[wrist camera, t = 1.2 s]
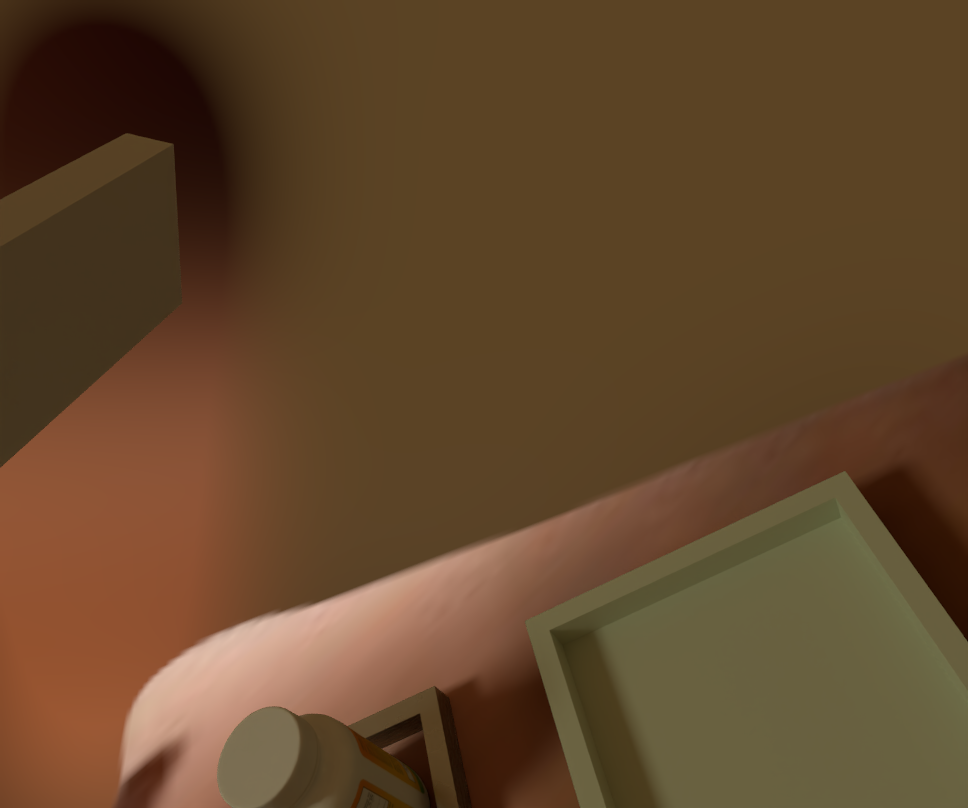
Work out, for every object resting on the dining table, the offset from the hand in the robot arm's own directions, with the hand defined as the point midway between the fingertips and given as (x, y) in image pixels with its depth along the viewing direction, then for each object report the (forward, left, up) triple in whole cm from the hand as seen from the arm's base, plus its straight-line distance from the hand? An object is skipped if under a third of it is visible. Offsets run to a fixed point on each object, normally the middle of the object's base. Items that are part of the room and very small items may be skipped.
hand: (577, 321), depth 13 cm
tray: (+1, -2, -29) cm, 29 cm away
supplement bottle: (+19, -7, -29) cm, 35 cm away
